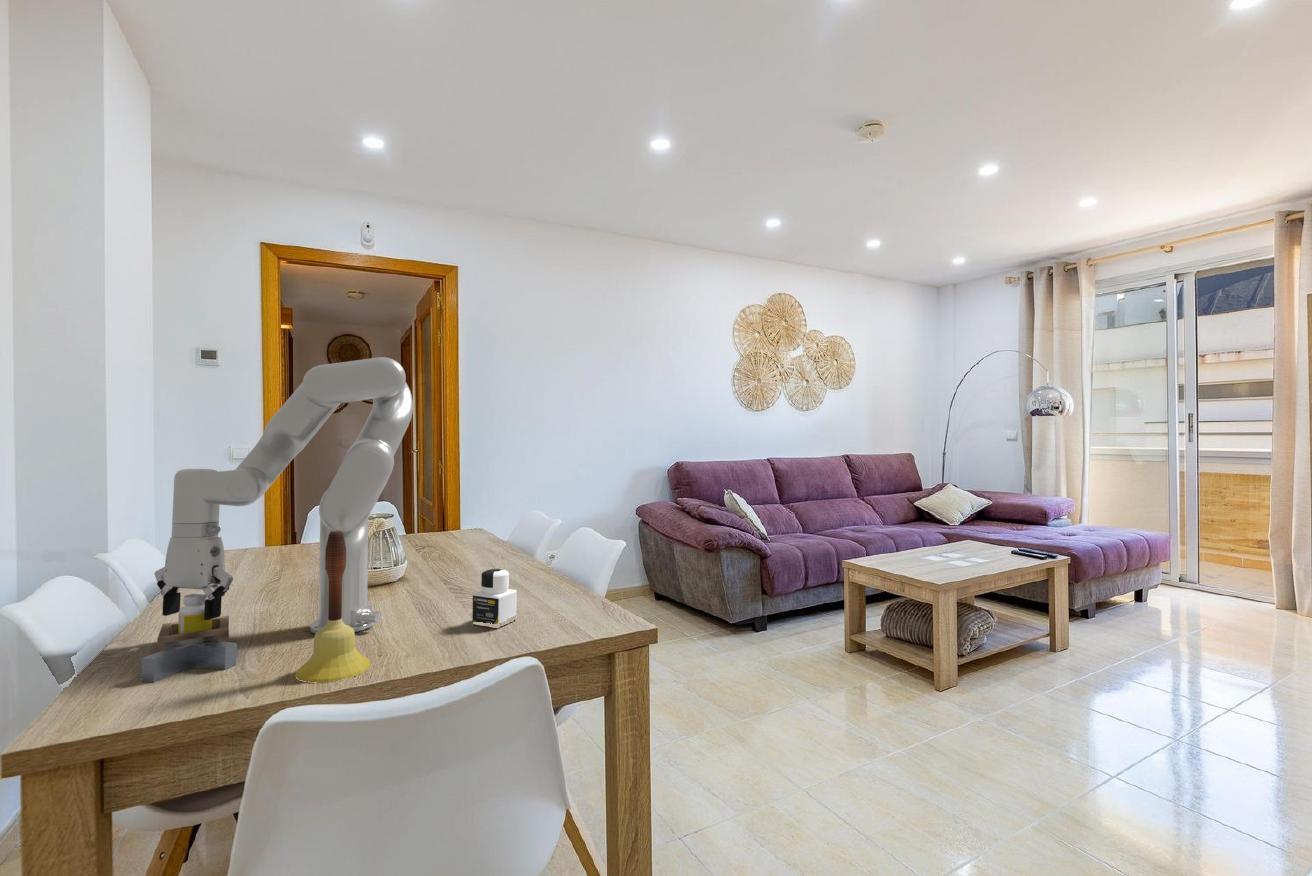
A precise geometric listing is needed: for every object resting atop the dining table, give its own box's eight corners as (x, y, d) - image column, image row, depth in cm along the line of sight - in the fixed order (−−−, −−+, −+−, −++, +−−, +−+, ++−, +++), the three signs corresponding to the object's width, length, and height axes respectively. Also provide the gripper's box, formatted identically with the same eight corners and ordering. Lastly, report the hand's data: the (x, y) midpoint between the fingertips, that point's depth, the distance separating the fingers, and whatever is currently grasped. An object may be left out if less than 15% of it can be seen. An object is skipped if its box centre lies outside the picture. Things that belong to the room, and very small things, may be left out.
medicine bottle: (471, 625, 137) (472, 572, 137) (491, 617, 143) (492, 566, 143) (497, 629, 134) (498, 575, 134) (516, 620, 141) (517, 568, 141)
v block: (144, 668, 109) (144, 645, 109) (234, 653, 117) (234, 632, 117) (140, 684, 102) (141, 660, 102) (236, 667, 110) (237, 645, 110)
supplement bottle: (218, 641, 124) (218, 593, 124) (190, 650, 119) (191, 600, 119) (199, 638, 126) (200, 590, 125) (171, 646, 120) (171, 597, 120)
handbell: (383, 657, 116) (385, 526, 116) (352, 684, 104) (354, 537, 104) (317, 657, 116) (319, 526, 116) (279, 683, 104) (281, 536, 104)
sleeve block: (228, 631, 130) (228, 615, 130) (228, 646, 121) (228, 629, 121) (162, 641, 123) (162, 623, 123) (157, 657, 114) (157, 639, 114)
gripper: (248, 530, 124) (244, 614, 124) (176, 525, 127) (173, 607, 127) (215, 536, 117) (211, 625, 117) (140, 530, 120) (136, 617, 120)
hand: (191, 616), depth 122 cm, fingers open, 9 cm apart
